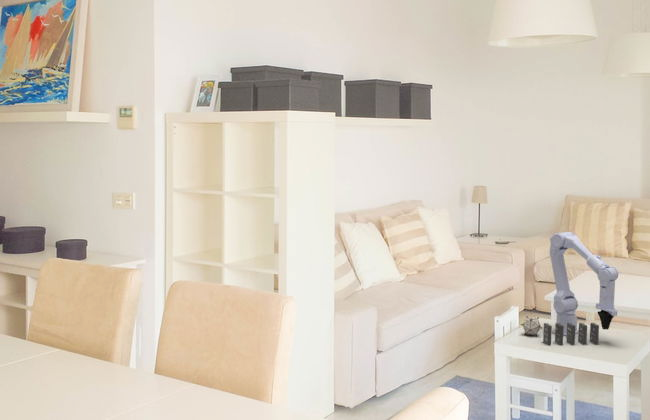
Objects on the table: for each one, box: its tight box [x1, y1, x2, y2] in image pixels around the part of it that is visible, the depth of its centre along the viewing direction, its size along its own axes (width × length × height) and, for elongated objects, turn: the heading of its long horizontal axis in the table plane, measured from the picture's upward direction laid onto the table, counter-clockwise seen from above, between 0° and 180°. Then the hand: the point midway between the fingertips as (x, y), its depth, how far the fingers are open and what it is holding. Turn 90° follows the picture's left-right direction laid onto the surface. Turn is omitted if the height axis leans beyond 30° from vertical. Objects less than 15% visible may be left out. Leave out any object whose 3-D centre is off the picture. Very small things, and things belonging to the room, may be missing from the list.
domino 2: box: [554, 322, 564, 346], centre depth 313 cm, size 1×5×8 cm, turn 5°
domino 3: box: [566, 323, 576, 346], centre depth 313 cm, size 1×5×8 cm, turn 5°
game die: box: [520, 315, 543, 337], centre depth 326 cm, size 9×8×10 cm
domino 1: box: [542, 322, 552, 346], centre depth 312 cm, size 1×5×8 cm, turn 5°
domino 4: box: [577, 322, 588, 346], centre depth 313 cm, size 1×5×8 cm, turn 5°
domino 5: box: [589, 322, 600, 346], centre depth 314 cm, size 1×5×8 cm, turn 5°
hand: (605, 329), depth 314 cm, fingers closed
